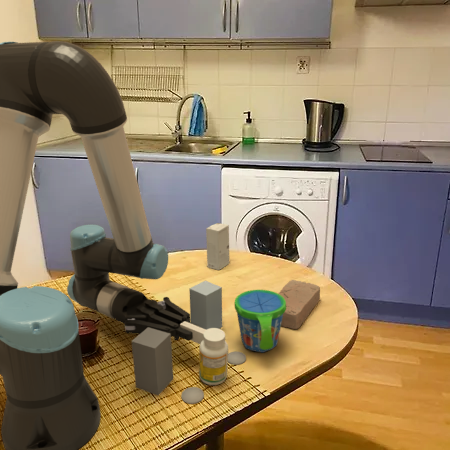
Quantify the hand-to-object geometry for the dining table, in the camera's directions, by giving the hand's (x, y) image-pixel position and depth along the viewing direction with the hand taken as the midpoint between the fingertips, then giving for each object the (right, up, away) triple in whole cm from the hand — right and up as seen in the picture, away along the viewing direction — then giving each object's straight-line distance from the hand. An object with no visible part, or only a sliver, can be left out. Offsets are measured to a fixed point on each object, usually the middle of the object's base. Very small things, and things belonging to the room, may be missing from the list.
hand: (208, 339), depth 87 cm
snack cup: (+10, -4, +10) cm, 15 cm away
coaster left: (-3, -9, -5) cm, 11 cm away
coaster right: (+5, -5, +5) cm, 9 cm away
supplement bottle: (+1, -7, 0) cm, 7 cm away
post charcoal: (-10, -8, -2) cm, 13 cm away
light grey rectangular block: (-1, -1, +16) cm, 16 cm away
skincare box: (+1, +10, +47) cm, 48 cm away
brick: (+20, +1, +23) cm, 30 cm away
